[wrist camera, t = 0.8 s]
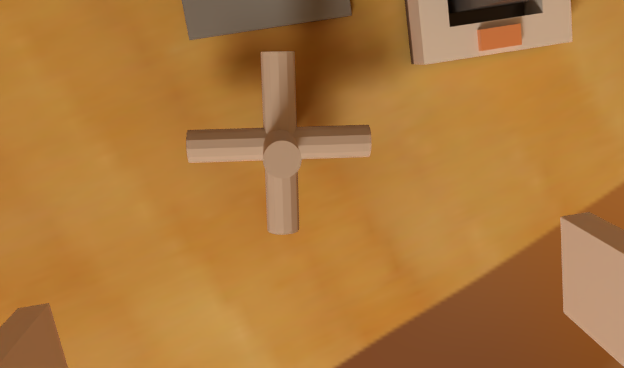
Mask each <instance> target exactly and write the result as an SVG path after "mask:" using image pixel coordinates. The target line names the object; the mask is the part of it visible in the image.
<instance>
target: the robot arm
mask: <svg viewBox="0 0 624 368" xmlns="http://www.w3.org/2000/svg"><path fill="white" fill-rule="evenodd" d="M561 246H562V278H563V307H564V308H563V309H564V313H565V314H566V315H567V316H568V317H569V318H570V319H571V320H572V321H574V322H575V323H576V324H577V325H578V326H579V327H580V328H581V329H583V330H584V331H585V332H586V333H587V334H588V335H589V336H590V337H592V338H593V339H594V340H595V341H596V342H597V343H598V344H599V345H600V346H601V347H603V348H604V349H605V350H606V351H607V352H608V353H609V354H610V355H611V356H612V357H614V358H615V359H616V360H617V361H618V362H619V363H620V364H622V366H624V230H623V229H621V228H619V227H617V226H615V225H613V224H611V223H609V222H607V221H605V220H604V219H602V218H600V217H597V216H596V215H594V214H592V213H590V212H586V213H580V214H574V215H568V216H562V217H561ZM0 368H68V366H67V363H66V360H65V356H64V353H63V349H62V346H61V343H60V339H59V336H58V332H57V329H56V325H55V322H54V319H53V315H52V312H51V308H50V305H49V303H47V304H41V305H35V306H29V307H23V308H18V309H17V310H16V311H15V312H14V313H13V314H12V315H11V316H10V317H9V318H8V320H7V321H6V322H5V323H4V324H3V325H2V326H1V327H0Z"/></svg>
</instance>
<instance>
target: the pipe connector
mask: <svg viewBox="0 0 624 368" xmlns="http://www.w3.org/2000/svg"><path fill="white" fill-rule="evenodd" d="M261 73H262V99H263V125H264V128H242V129H208V130H188V131H187V137H186V146H187V157H188V161H189V162H190V163H197V162H227V161H257V160H263V164H264V167H265V177H266V203H267V229H268V231H269V232H270V233H273V234H282V235H285V234H292V233H295V232H298V230H299V203H298V170H299V168H300V165H301V160H302V159H318V158H348V157H369V156H370V153H371V132H370V127H369V125H346V126H312V127H297V124H296V84H295V51H278V52H261Z"/></svg>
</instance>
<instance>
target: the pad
mask: <svg viewBox="0 0 624 368" xmlns="http://www.w3.org/2000/svg"><path fill="white" fill-rule="evenodd" d="M182 4H183V9H184V14H185V19H186V24H187V29H188V35H189V40H193V39H200V38H206V37H213V36H220V35H226V34H233V33H240V32H246V31H253V30H259V29H266V28H273V27H279V26H286V25H293V24H299V23H306V22H312V21H319V20H326V19H332V18H339V17H346V16H351V15H352V13H351V5H350V0H182Z"/></svg>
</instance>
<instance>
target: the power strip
mask: <svg viewBox="0 0 624 368" xmlns="http://www.w3.org/2000/svg"><path fill="white" fill-rule="evenodd" d="M405 7H406V16H407V26H408V35H409V45H410V54H411V64H421V65H425V64H432V63H438V62H445V61H451V60H457V59H464V58H470V57H477V56H483V55H490V54H496V53H502V52H509V51H515V50H522V49H528V48H534V47H541V46H547V45H554V44H560V43H566V42H572V20H571V0H530V1H525V2H520V3H516V4H511V5H505V6H498V7H491V8H485V9H478V10H472V11H465V12H459V13H452V14H449V11H448V0H405Z"/></svg>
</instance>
